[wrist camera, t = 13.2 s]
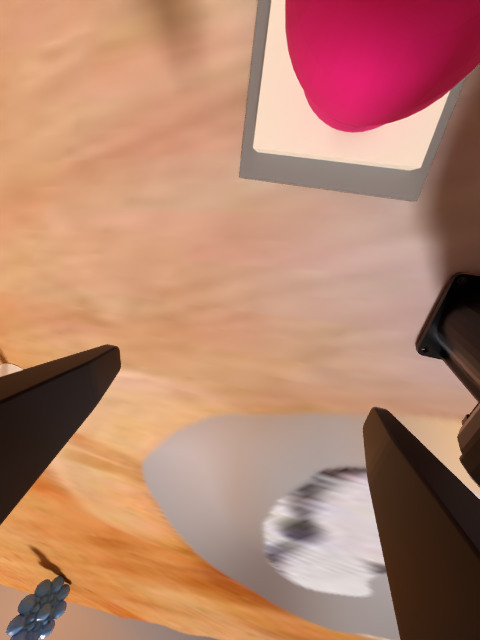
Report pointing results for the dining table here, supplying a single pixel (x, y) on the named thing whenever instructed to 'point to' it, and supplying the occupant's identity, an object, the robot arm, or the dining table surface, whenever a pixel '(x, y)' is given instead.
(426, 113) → the grey square coaster
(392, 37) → the pepper mill
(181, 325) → the dining table surface
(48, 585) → the grapes
